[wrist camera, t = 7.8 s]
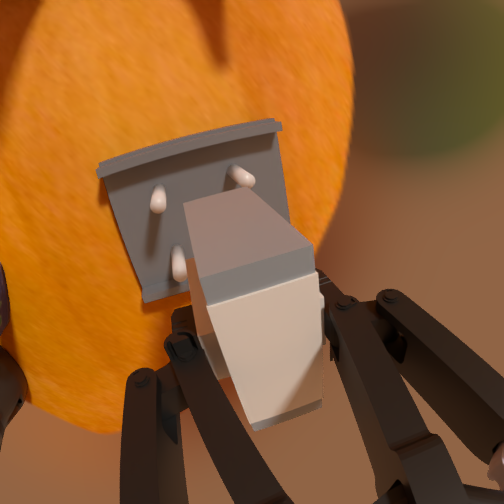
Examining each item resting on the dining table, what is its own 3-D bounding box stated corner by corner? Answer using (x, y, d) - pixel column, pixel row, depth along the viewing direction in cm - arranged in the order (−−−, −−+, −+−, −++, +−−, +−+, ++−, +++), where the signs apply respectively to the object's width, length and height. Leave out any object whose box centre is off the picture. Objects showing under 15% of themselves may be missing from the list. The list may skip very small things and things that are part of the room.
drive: (220, 332, 20) (253, 433, 13) (182, 203, 15) (197, 280, 8) (272, 316, 20) (323, 408, 13) (247, 185, 16) (315, 245, 9)
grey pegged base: (146, 291, 30) (145, 327, 25) (101, 161, 24) (84, 173, 19) (290, 249, 33) (314, 275, 28) (270, 118, 26) (296, 119, 21)
